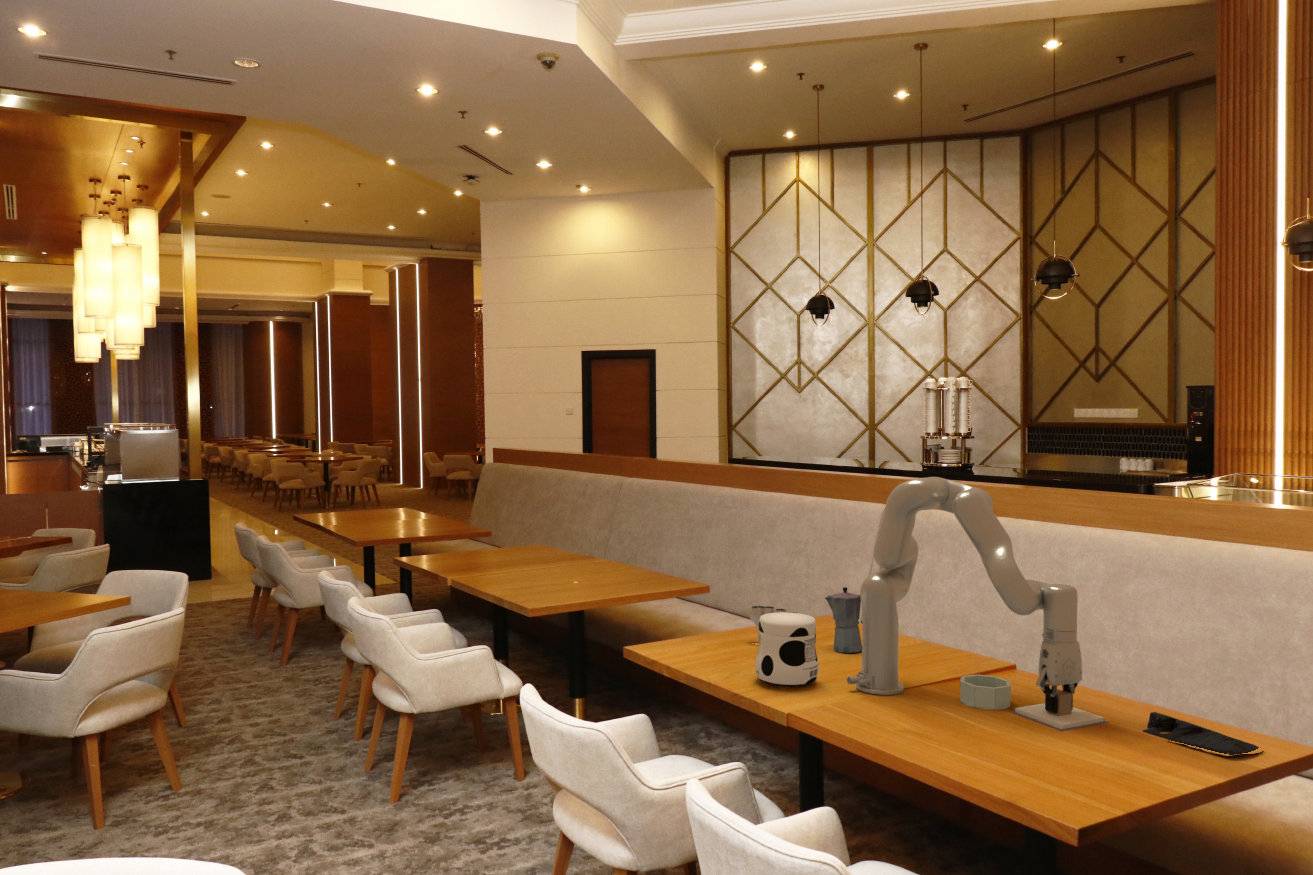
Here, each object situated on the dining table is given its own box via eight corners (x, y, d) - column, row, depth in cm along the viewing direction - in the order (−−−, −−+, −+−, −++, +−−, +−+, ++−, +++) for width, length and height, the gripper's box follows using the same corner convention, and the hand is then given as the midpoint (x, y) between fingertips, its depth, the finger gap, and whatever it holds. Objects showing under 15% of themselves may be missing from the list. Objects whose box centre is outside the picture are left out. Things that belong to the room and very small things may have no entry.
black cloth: (1225, 765, 196) (1226, 743, 196) (1133, 733, 216) (1134, 713, 216) (1270, 754, 202) (1271, 733, 202) (1177, 724, 222) (1178, 705, 222)
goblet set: (815, 660, 278) (816, 616, 278) (800, 662, 275) (801, 618, 275) (760, 641, 302) (760, 600, 302) (746, 643, 299) (746, 602, 299)
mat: (1061, 733, 213) (1061, 731, 213) (1009, 713, 228) (1009, 711, 228) (1110, 724, 220) (1110, 722, 220) (1055, 705, 235) (1055, 703, 235)
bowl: (984, 714, 227) (985, 690, 227) (950, 700, 238) (950, 677, 238) (1020, 708, 232) (1021, 684, 232) (985, 695, 243) (985, 672, 243)
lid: (1061, 729, 215) (1061, 703, 215) (1015, 711, 227) (1015, 687, 227) (1103, 721, 221) (1104, 696, 220) (1056, 705, 233) (1056, 681, 233)
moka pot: (823, 645, 296) (824, 583, 296) (872, 647, 294) (873, 585, 294) (824, 653, 287) (825, 589, 287) (875, 655, 285) (876, 590, 284)
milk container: (752, 673, 263) (753, 610, 262) (813, 674, 262) (814, 611, 262) (757, 691, 245) (758, 624, 245) (822, 692, 245) (823, 625, 245)
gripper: (1047, 642, 217) (1045, 719, 217) (1097, 635, 224) (1096, 710, 224) (1022, 635, 224) (1021, 710, 224) (1072, 629, 231) (1070, 701, 231)
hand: (1058, 709), depth 224 cm, fingers open, 4 cm apart
